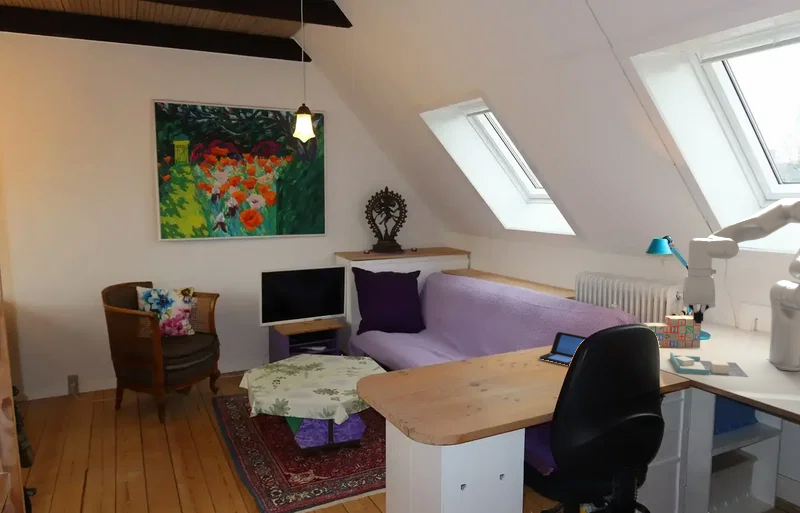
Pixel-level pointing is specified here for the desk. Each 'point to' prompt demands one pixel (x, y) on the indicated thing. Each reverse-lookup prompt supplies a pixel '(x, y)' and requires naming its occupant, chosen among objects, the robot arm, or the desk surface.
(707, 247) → the robot arm
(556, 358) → the handheld game console
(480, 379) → the desk surface
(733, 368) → the plate
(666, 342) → the stack of blocks
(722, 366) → the off-white rectangular block
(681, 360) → the tile
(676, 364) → the box
